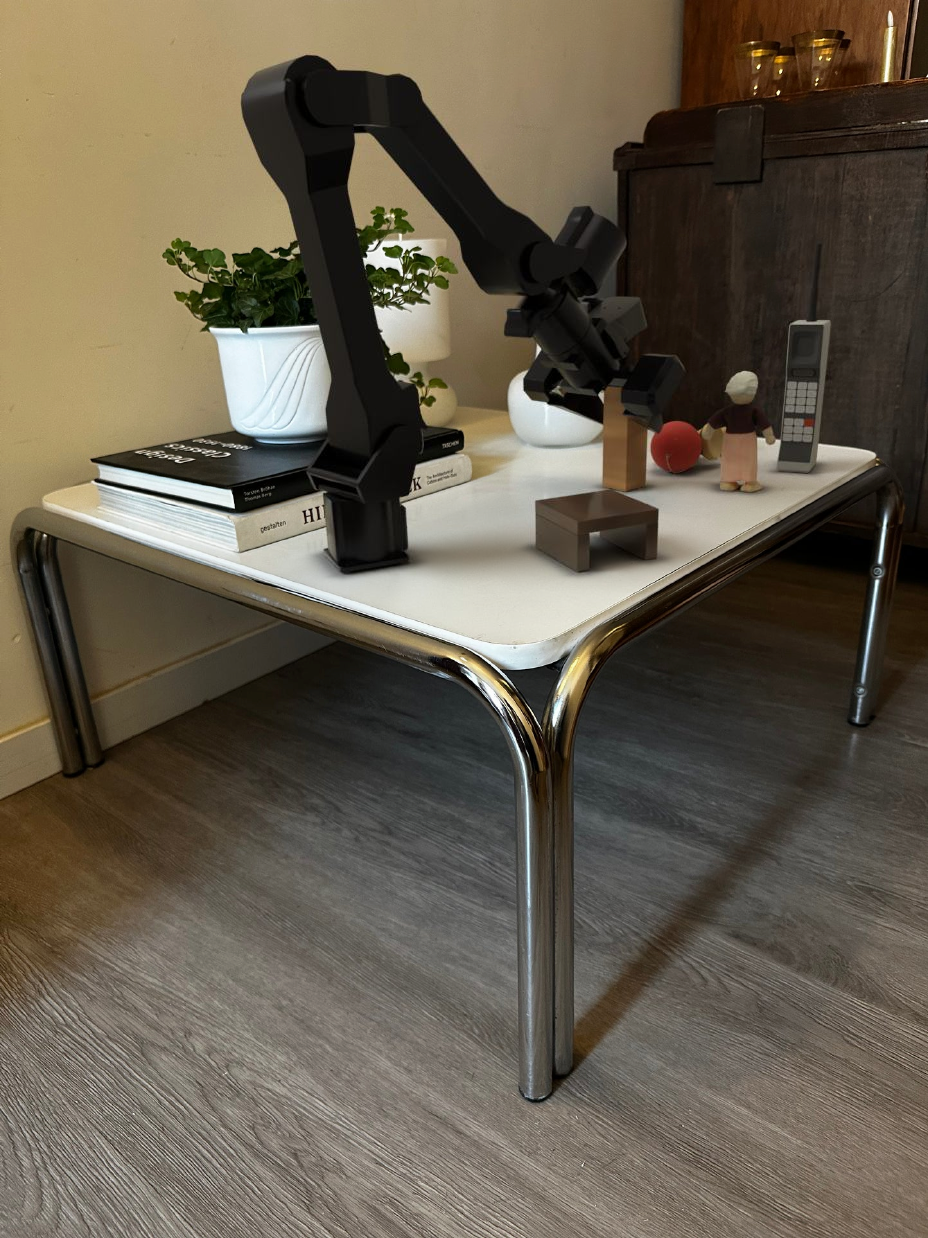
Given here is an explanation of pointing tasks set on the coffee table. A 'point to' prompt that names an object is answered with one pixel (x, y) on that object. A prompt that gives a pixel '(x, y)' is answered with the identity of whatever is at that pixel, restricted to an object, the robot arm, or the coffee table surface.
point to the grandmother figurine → (740, 434)
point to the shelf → (594, 526)
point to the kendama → (684, 446)
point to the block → (622, 446)
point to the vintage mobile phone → (804, 386)
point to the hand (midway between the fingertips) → (633, 426)
